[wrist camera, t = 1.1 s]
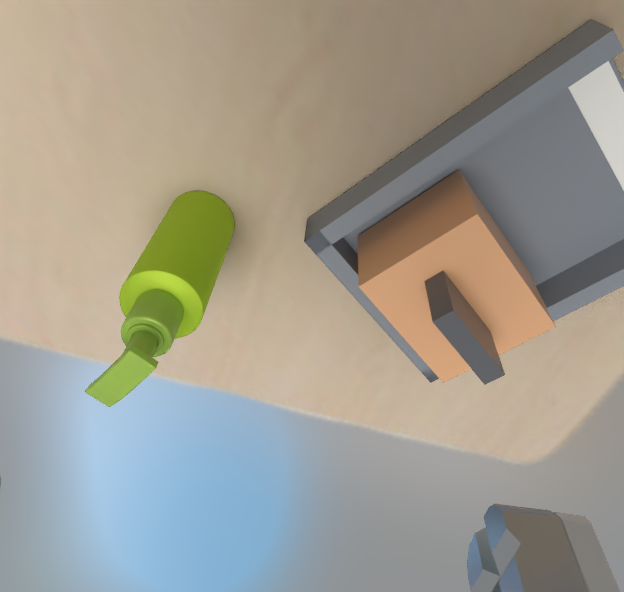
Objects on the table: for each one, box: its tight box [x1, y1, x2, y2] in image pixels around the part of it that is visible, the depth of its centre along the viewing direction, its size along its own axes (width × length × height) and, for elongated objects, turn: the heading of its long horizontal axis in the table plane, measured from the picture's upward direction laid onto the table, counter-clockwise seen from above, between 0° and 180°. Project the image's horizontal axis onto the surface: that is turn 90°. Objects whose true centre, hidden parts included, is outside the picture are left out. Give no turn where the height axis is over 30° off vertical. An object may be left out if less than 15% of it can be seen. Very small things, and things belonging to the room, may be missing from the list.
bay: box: [304, 20, 624, 382], centre depth 47 cm, size 26×19×4 cm
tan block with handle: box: [358, 170, 556, 384], centre depth 44 cm, size 10×12×13 cm
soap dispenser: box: [85, 191, 235, 407], centre depth 42 cm, size 6×7×20 cm
